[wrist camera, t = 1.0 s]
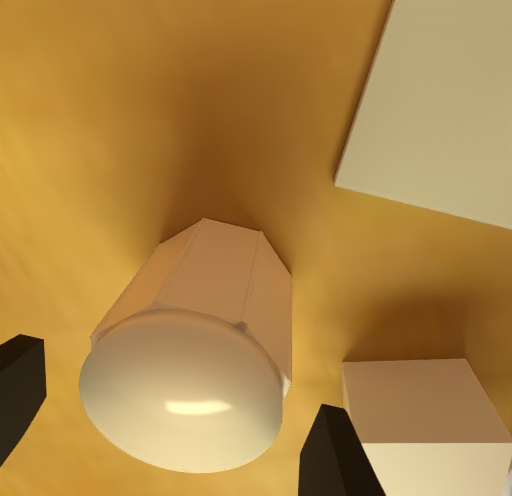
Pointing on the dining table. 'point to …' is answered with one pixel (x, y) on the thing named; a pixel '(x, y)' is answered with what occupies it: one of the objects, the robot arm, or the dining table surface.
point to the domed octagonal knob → (195, 352)
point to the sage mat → (438, 111)
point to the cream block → (427, 427)
